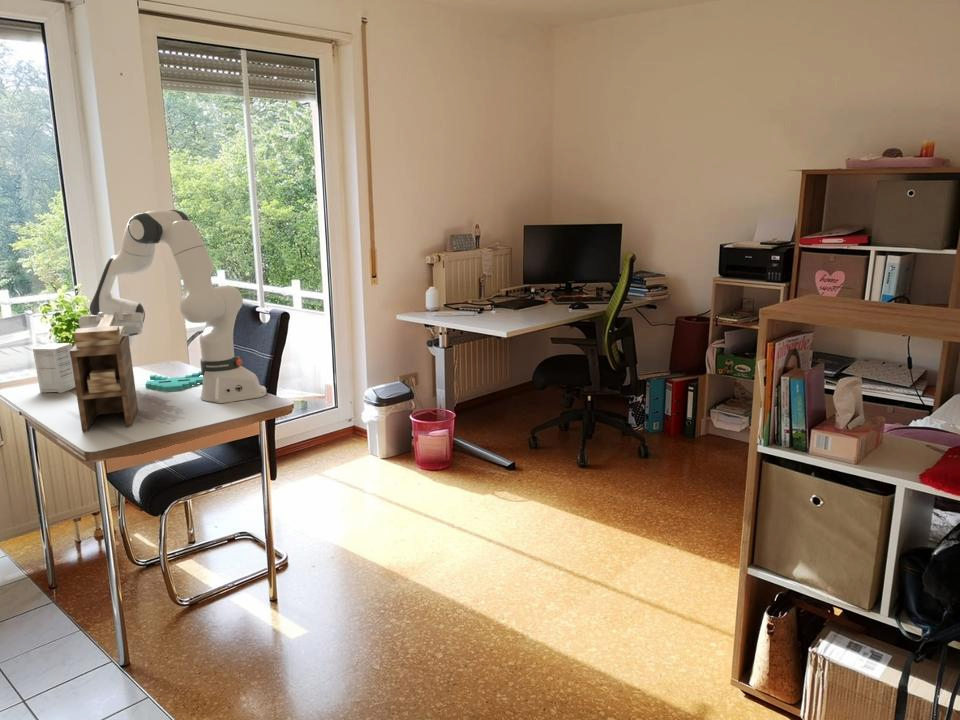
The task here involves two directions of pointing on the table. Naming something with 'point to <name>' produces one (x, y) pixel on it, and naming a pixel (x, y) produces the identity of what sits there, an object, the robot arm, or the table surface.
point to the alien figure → (173, 382)
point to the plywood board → (103, 324)
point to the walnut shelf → (104, 381)
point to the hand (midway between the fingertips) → (107, 314)
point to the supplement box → (54, 367)
